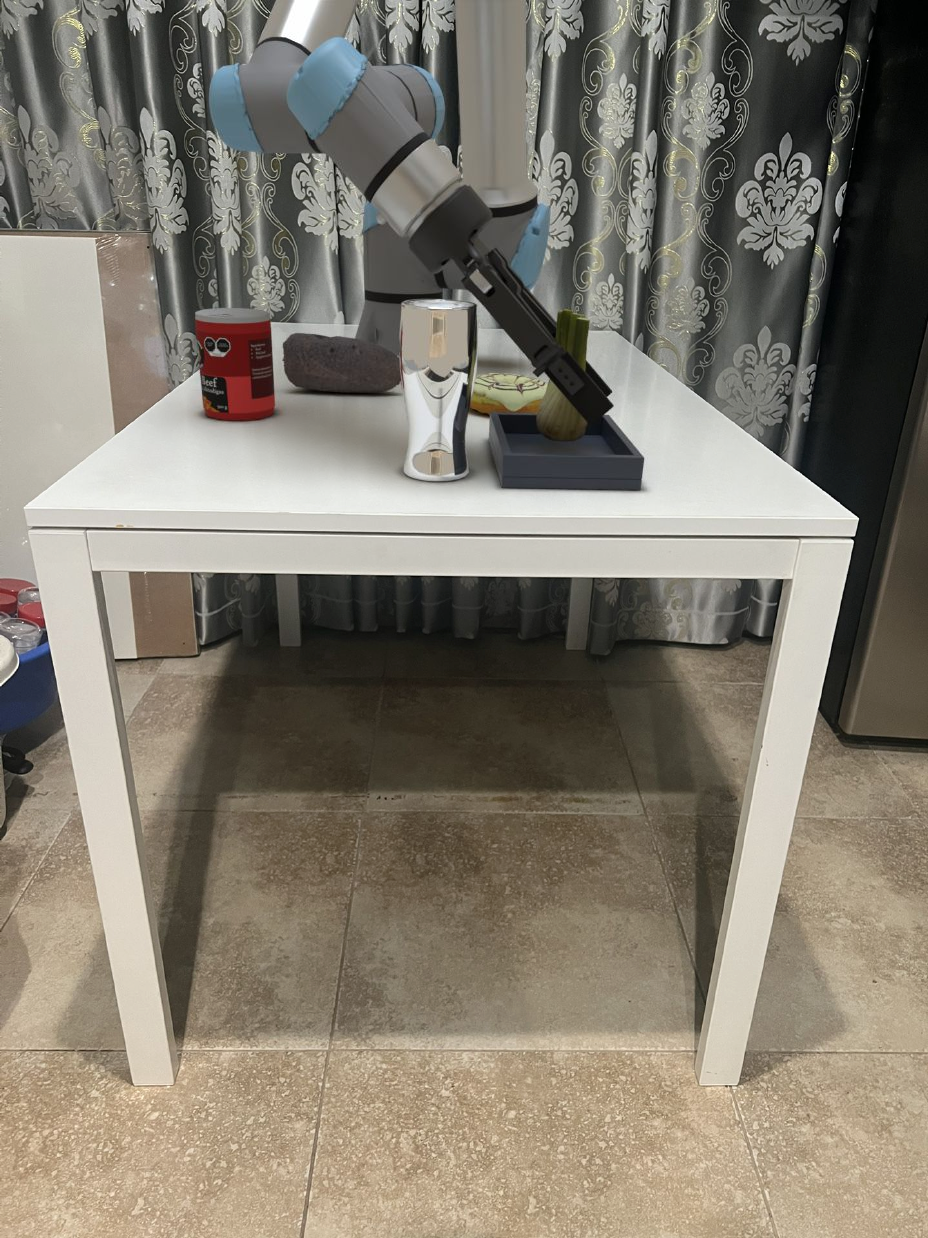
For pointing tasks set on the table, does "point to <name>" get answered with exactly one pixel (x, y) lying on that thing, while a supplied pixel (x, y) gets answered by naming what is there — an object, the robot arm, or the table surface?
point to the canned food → (235, 363)
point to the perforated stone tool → (339, 364)
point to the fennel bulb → (555, 409)
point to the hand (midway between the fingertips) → (601, 407)
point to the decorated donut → (507, 393)
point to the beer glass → (437, 384)
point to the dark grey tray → (563, 456)
